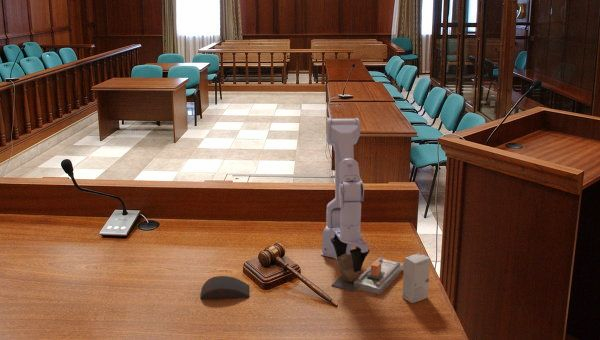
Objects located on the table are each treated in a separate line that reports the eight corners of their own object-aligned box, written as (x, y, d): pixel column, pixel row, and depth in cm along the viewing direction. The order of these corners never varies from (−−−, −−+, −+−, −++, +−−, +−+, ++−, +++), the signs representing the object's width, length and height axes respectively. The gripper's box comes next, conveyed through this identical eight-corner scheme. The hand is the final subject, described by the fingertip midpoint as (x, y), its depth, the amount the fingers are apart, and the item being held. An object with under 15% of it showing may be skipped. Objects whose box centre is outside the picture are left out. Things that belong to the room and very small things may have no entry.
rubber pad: (331, 285, 176) (331, 284, 176) (344, 274, 183) (344, 273, 183) (353, 291, 173) (353, 290, 173) (365, 280, 180) (365, 279, 179)
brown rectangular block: (343, 280, 179) (335, 258, 177) (352, 274, 180) (344, 252, 179) (350, 282, 176) (342, 259, 174) (359, 276, 177) (351, 254, 176)
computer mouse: (201, 287, 176) (201, 275, 175) (249, 285, 177) (249, 273, 176) (199, 302, 168) (199, 289, 167) (249, 299, 169) (249, 286, 168)
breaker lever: (366, 276, 177) (366, 264, 176) (372, 270, 180) (372, 259, 179) (379, 279, 175) (379, 268, 174) (384, 274, 178) (385, 262, 177)
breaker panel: (353, 288, 175) (353, 279, 174) (378, 263, 190) (379, 255, 189) (379, 295, 171) (379, 286, 170) (403, 269, 186) (403, 261, 185)
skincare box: (412, 303, 167) (415, 263, 163) (401, 297, 170) (403, 257, 167) (428, 297, 170) (431, 258, 166) (417, 291, 174) (420, 252, 170)
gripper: (377, 227, 168) (376, 272, 173) (346, 211, 180) (345, 253, 184) (357, 233, 165) (356, 278, 169) (326, 216, 176) (326, 258, 181)
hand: (349, 265), depth 176 cm, fingers open, 7 cm apart
